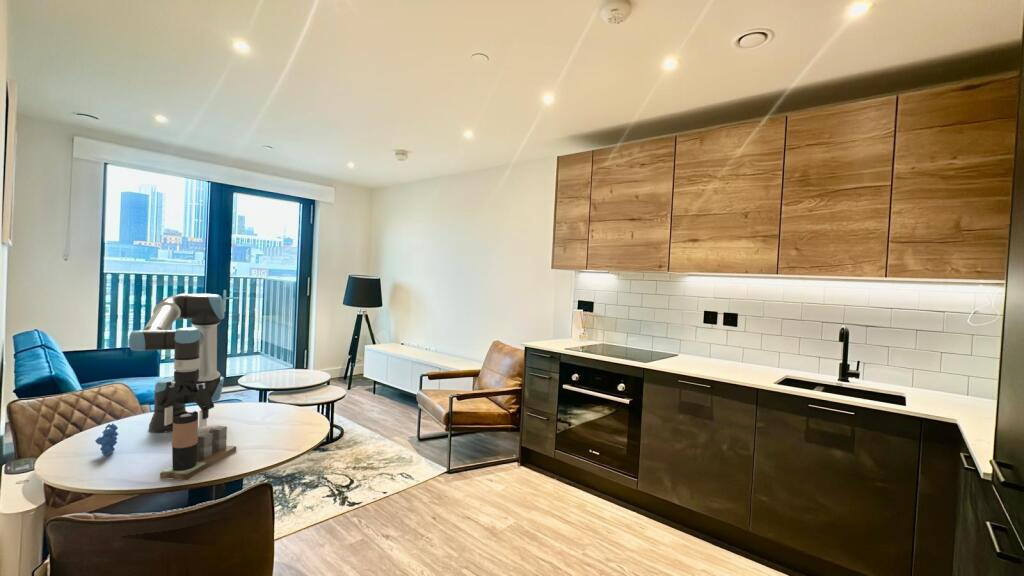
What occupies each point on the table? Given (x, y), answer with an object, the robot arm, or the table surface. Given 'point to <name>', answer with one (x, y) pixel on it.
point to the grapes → (108, 439)
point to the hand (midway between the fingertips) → (185, 425)
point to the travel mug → (184, 440)
